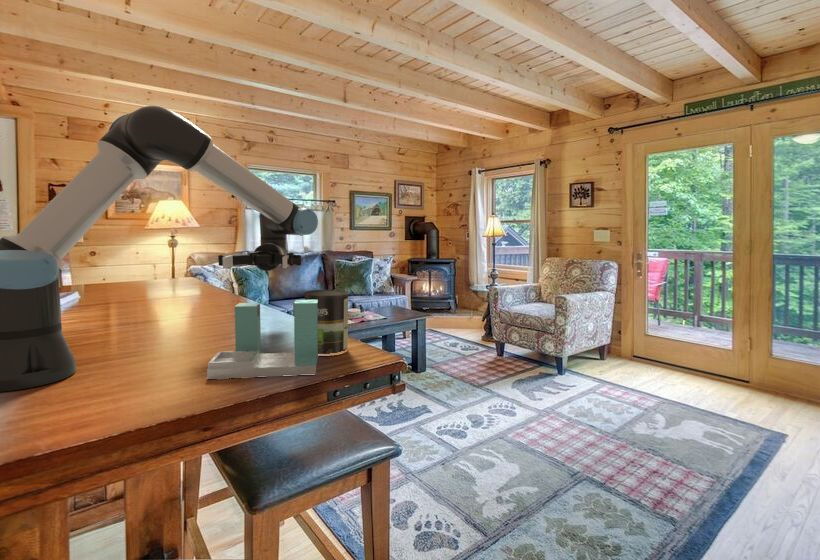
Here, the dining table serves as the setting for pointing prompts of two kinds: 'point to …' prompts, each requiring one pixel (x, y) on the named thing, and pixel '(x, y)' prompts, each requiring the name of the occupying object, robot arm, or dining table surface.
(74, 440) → the dining table surface
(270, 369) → the grey base with post
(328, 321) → the coffee can
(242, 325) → the mint green block
